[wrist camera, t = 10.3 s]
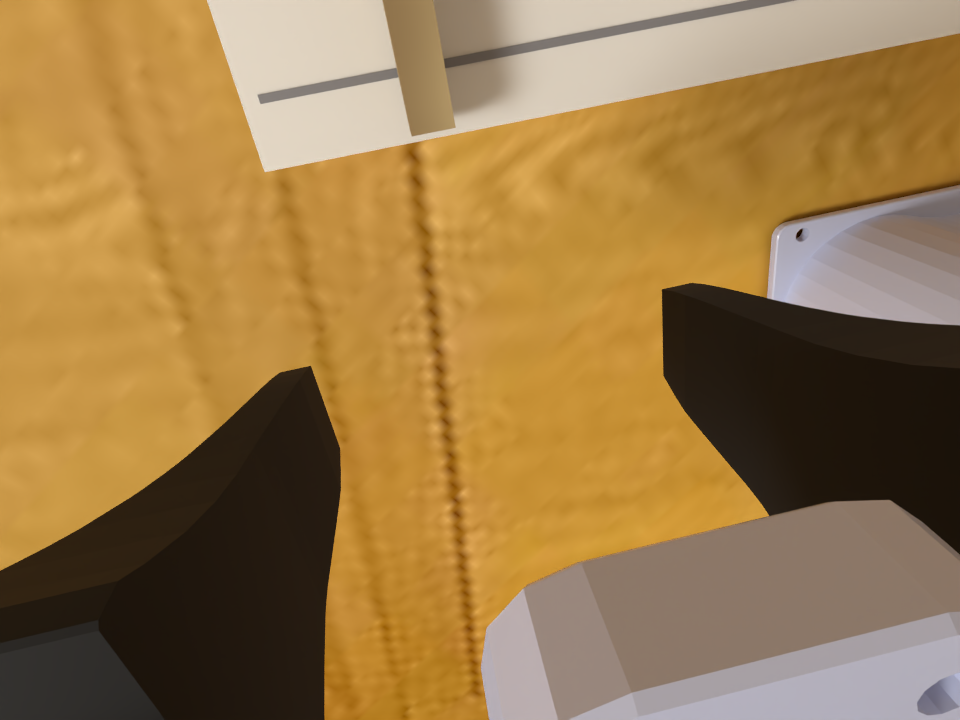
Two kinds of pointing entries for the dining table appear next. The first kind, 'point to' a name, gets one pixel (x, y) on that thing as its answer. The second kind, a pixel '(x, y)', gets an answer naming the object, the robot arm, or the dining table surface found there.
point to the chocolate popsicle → (420, 65)
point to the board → (523, 58)
